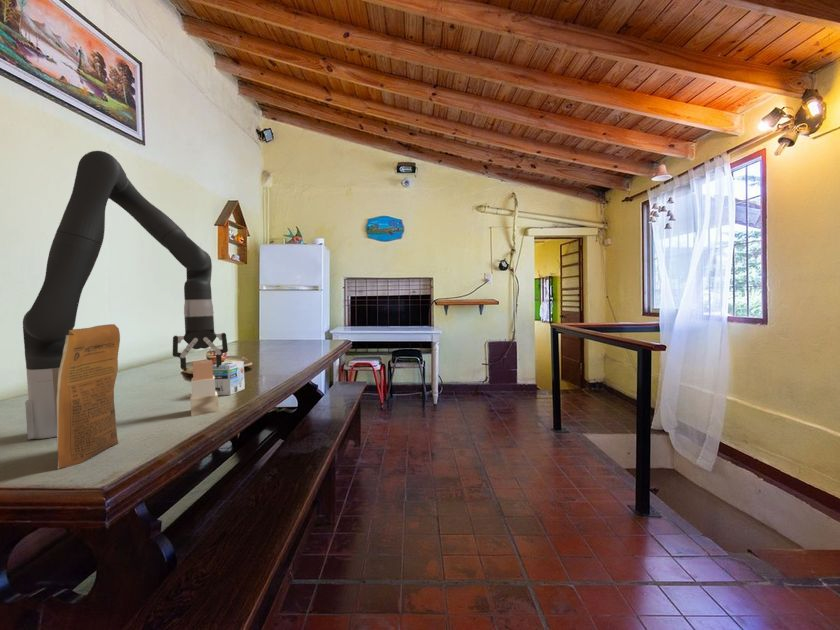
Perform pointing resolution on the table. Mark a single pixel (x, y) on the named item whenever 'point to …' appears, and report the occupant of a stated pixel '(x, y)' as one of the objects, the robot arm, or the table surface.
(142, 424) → the table surface
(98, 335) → the pancake mix bag
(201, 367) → the terracotta block
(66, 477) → the table surface
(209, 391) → the tower top block
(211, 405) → the tower base block
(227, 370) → the light bulb box
